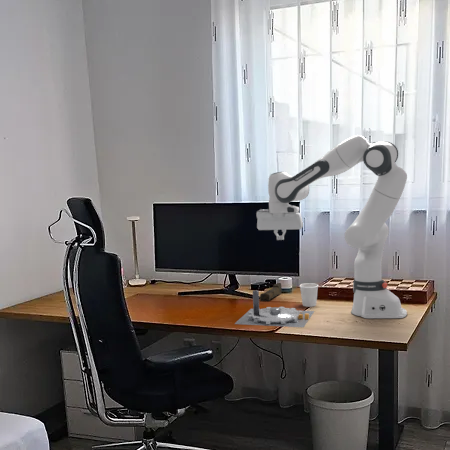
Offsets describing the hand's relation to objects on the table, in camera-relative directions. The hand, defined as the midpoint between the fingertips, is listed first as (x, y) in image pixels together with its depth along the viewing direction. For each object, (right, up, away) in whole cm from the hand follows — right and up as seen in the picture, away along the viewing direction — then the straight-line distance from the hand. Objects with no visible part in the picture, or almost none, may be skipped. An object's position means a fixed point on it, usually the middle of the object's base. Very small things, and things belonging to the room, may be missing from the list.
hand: (280, 239), depth 259 cm
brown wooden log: (-2, -29, +22) cm, 36 cm away
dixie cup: (+13, -30, 0) cm, 33 cm away
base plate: (-4, -33, -19) cm, 38 cm away
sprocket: (-4, -32, -19) cm, 37 cm away
